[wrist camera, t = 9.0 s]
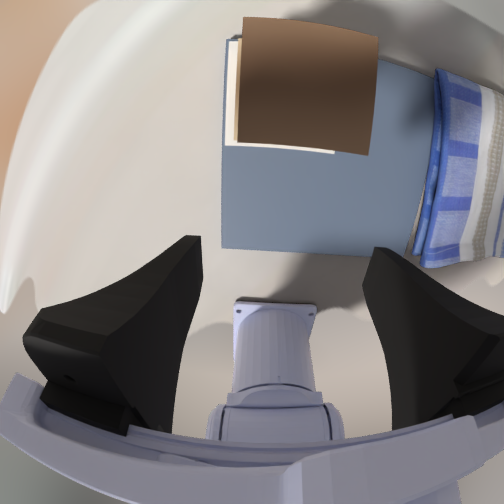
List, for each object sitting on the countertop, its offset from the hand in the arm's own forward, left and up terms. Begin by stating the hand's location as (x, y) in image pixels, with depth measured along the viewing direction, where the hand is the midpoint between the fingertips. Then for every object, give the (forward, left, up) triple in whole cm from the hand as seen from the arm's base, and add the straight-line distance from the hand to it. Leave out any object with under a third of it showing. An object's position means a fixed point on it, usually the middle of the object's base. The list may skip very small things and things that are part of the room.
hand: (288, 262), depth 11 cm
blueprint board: (+3, -4, -10) cm, 11 cm away
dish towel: (+4, -23, -10) cm, 26 cm away
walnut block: (+7, 0, -5) cm, 8 cm away
